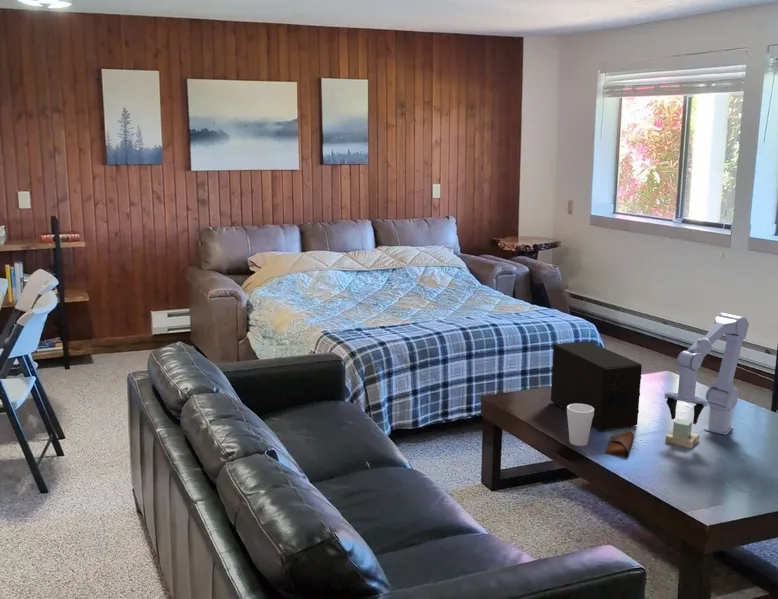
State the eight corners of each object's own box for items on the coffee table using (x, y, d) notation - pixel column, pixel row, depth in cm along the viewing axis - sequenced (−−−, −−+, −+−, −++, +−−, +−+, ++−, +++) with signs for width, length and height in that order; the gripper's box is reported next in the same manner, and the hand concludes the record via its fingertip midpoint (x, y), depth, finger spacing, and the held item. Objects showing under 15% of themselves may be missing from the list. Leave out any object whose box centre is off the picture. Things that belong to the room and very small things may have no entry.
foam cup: (595, 440, 286) (597, 406, 283) (587, 449, 278) (590, 414, 275) (569, 435, 290) (571, 401, 288) (561, 444, 282) (563, 409, 280)
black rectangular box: (647, 429, 297) (652, 365, 292) (603, 435, 291) (607, 370, 286) (590, 397, 332) (593, 340, 327) (549, 402, 325) (552, 344, 320)
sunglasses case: (609, 435, 290) (620, 422, 288) (626, 447, 289) (637, 434, 286) (603, 453, 274) (614, 439, 271) (620, 466, 272) (631, 452, 270)
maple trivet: (673, 436, 292) (674, 428, 291) (698, 442, 286) (699, 434, 286) (665, 443, 285) (665, 435, 284) (690, 449, 279) (691, 441, 279)
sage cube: (676, 431, 288) (678, 418, 287) (690, 434, 285) (692, 421, 284) (672, 435, 284) (673, 422, 283) (686, 438, 281) (688, 425, 280)
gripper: (662, 383, 282) (660, 419, 285) (704, 391, 274) (701, 428, 276) (669, 378, 288) (666, 414, 291) (710, 386, 279) (707, 423, 282)
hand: (684, 421), depth 284 cm, fingers open, 7 cm apart
